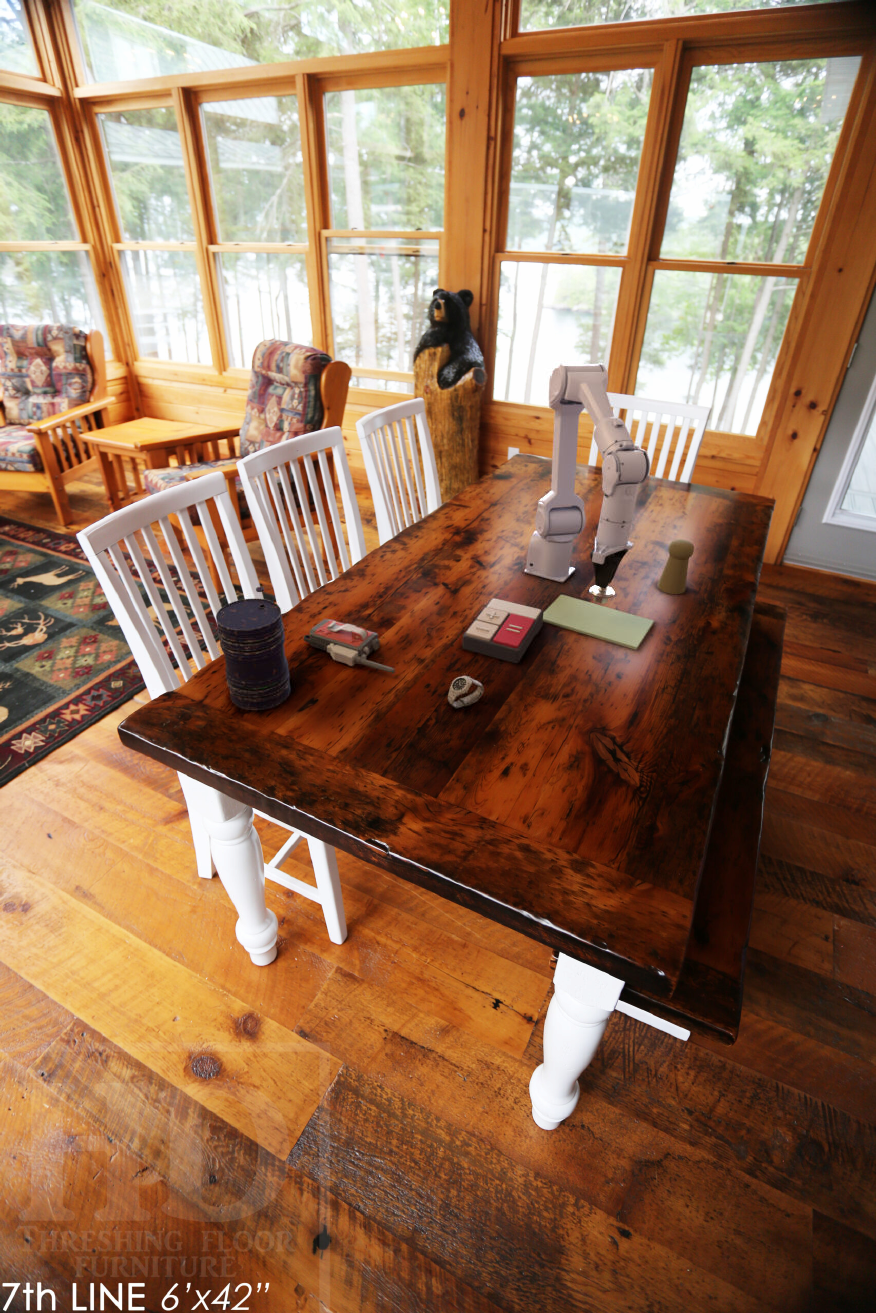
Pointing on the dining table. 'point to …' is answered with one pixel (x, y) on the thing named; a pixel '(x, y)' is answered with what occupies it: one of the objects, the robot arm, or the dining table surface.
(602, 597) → the screw
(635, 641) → the mat
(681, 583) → the olive pawn
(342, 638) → the walkie-talkie
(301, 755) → the dining table surface
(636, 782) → the dining table surface
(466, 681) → the wristwatch
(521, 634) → the calculator
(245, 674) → the dark blue cylinder
